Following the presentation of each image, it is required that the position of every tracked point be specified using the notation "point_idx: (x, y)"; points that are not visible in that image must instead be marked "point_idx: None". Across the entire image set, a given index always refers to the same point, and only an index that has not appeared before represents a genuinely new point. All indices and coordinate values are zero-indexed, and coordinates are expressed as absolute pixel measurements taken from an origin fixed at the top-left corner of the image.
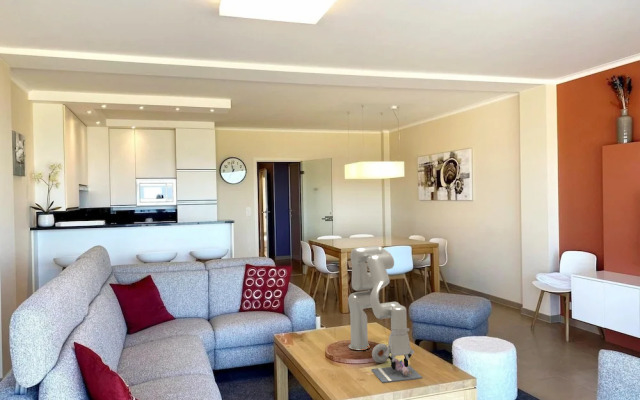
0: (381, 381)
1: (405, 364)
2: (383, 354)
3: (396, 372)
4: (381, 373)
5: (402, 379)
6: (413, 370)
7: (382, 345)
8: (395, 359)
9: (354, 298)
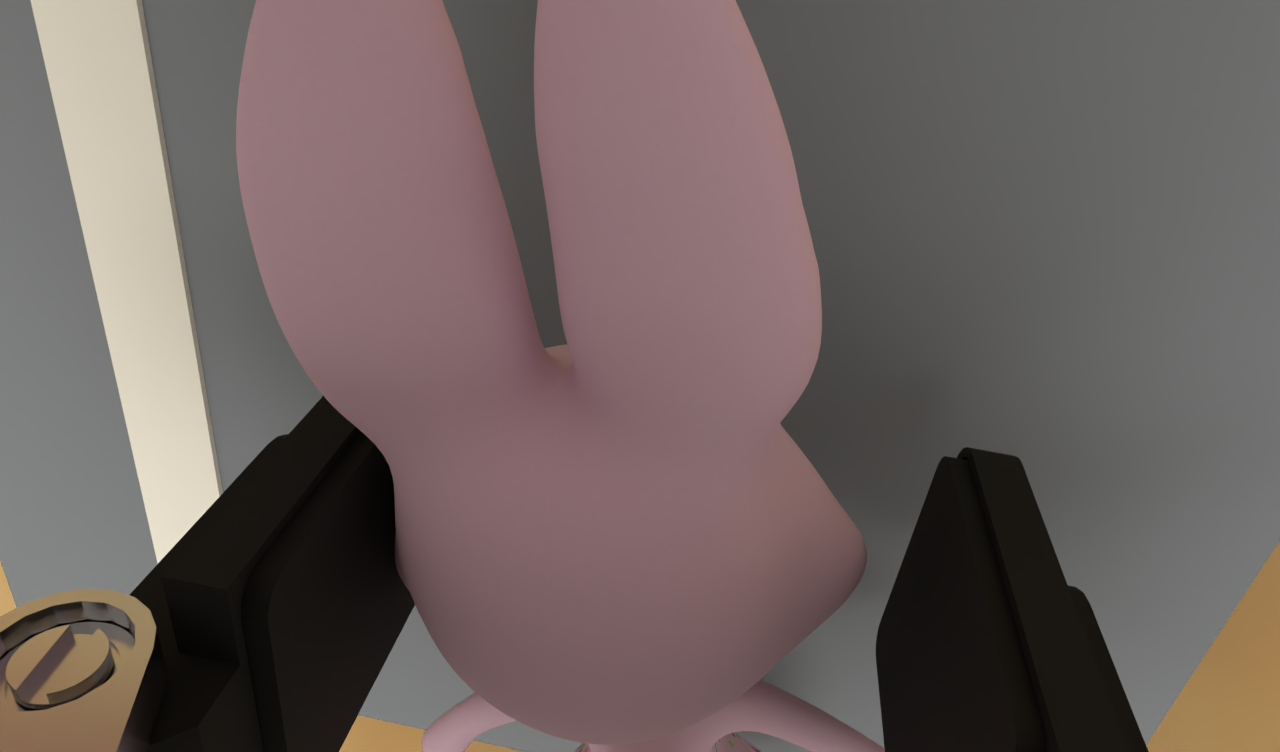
0: (23, 595)
1: (907, 708)
2: None
3: None
4: (64, 213)
5: (524, 749)
6: (1242, 491)
7: None
8: (621, 269)
9: None
